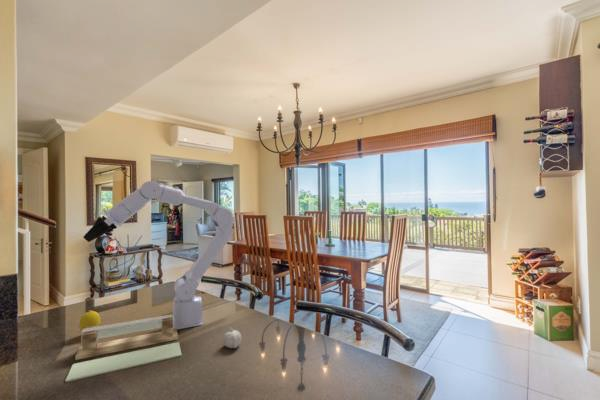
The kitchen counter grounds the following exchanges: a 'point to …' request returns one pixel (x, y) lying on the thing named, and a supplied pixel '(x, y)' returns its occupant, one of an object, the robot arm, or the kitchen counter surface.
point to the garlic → (232, 338)
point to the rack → (125, 341)
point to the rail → (127, 327)
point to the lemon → (89, 320)
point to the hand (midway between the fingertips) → (88, 238)
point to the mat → (123, 361)
